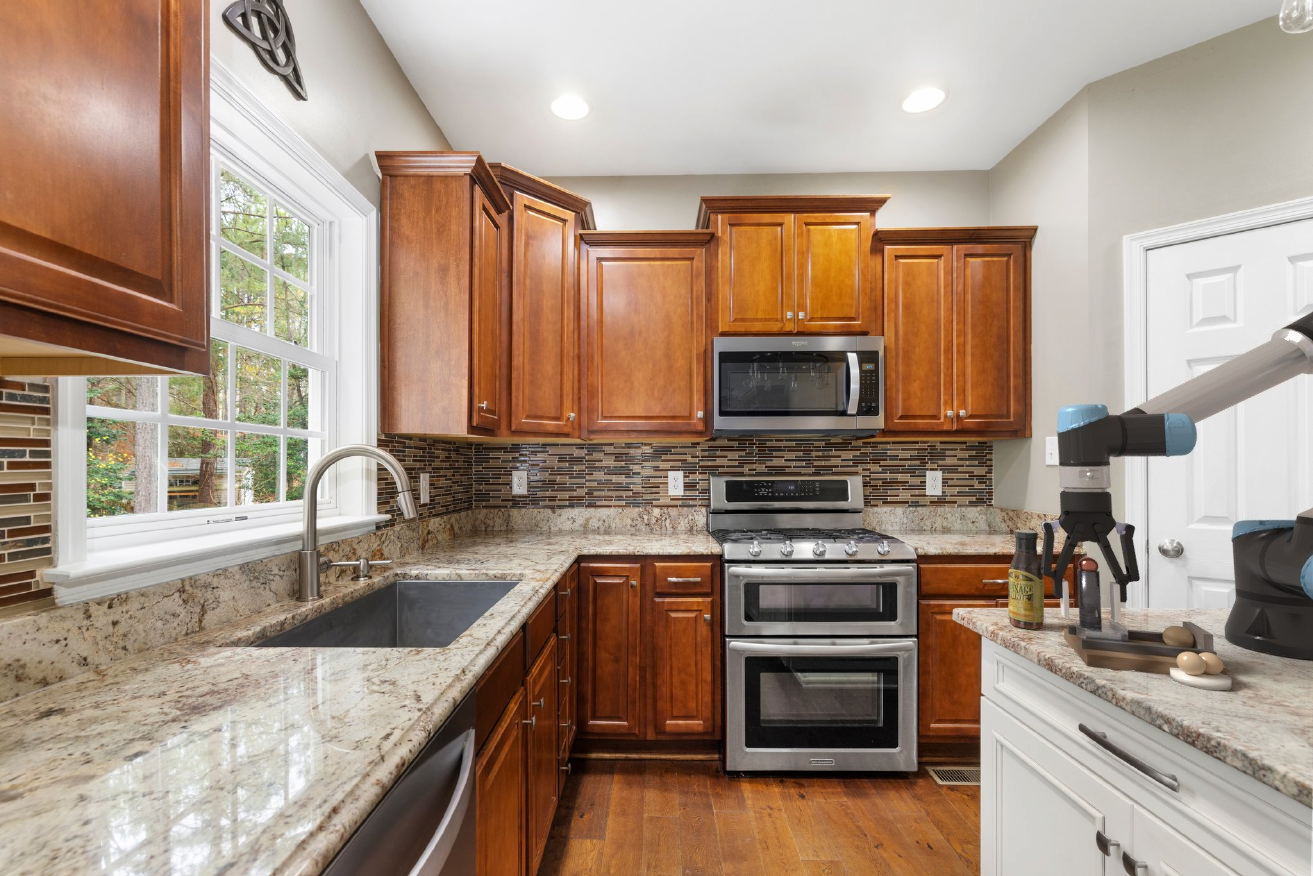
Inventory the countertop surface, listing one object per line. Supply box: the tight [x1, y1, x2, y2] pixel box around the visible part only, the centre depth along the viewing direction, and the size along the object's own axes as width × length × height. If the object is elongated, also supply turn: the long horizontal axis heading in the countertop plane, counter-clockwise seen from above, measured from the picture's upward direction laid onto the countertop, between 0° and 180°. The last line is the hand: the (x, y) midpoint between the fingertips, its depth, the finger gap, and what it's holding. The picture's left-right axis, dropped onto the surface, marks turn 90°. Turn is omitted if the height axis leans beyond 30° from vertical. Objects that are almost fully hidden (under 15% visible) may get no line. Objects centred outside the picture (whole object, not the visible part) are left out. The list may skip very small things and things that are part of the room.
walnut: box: [1162, 625, 1194, 648], centre depth 99 cm, size 4×4×4 cm
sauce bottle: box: [1007, 529, 1045, 630], centre depth 121 cm, size 7×6×20 cm
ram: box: [1075, 556, 1129, 642], centre depth 104 cm, size 6×6×15 cm
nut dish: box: [1169, 652, 1233, 692], centre depth 90 cm, size 7×7×5 cm
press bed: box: [1063, 620, 1228, 676], centre depth 102 cm, size 18×16×6 cm
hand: (1090, 618), depth 104 cm, fingers open, 7 cm apart
